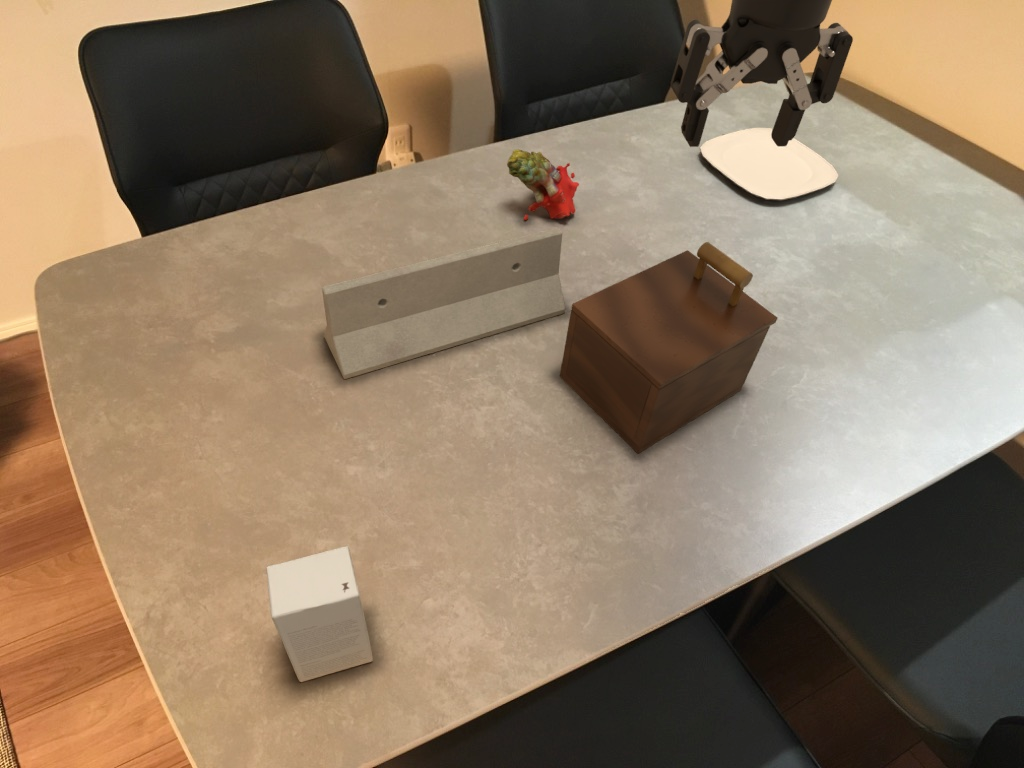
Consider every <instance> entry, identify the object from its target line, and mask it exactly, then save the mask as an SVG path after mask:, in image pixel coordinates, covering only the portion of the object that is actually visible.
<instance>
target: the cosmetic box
mask: <svg viewBox="0 0 1024 768" xmlns="http://www.w3.org/2000/svg"><path fill="white" fill-rule="evenodd" d="M354 567H355V566H354V563H353V558H352V554H351V550H350V548H349V546H348V545H345V546H341V547H337V548H334V549H333V548H332V549H329V550H326V551H322V552H318V553H314V554H310V555H306V556H302V557H300V558H295V559H291V560H287V561H284V562H283V561H282V562H279V563H276V564H272V565H271V564H270V565H268V566H266V567H265V568H266V581H267V590H268V601H269V609H270V616H271V620H272V622H273V624H274V626H275V628H276V630H277V633H278V635H279V637H280V640H281V643H282V644H283V647H284V650H285V652H286V654H287V656H288V659H289V661H290V663H291V665H292V668H293V670H294V672H295V675H296V677H297V679H298V681H299V682H301V683H303V682H307V681H310V680H313V679H317V678H320V677H324V676H327V675H330V674H334V673H337V672H341V671H344V670H347V669H351V668H354V667H357V666H360V665H364V664H368V663H372V662H374V657H373V652H372V646H371V641H370V636H369V632H368V626H367V622H366V616H365V613H364V608H363V604H362V599H361V595H360V590H359V585H358V580H357V575H356V571H355V568H354Z"/></svg>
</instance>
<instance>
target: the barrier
mask: <svg viewBox="0 0 1024 768" xmlns="http://www.w3.org/2000/svg"><path fill="white" fill-rule="evenodd" d="M562 243H563V232H562V230H561V229H560V228H559V227H552V228H549V229H544V230H541V231H536V232H532V233H529V234H525V235H521V236H517V237H513V238H510V239H506V240H505V239H504V240H501V241H498V242H497V241H496V242H494V243H491V244H485V245H482V246H478V247H474V248H470V249H466V250H461V251H457V252H453V253H450V254H445V255H442V256H437V257H434V258H430V259H426V260H422V261H419V262H414V263H411V264H407V265H403V266H399V267H394V268H391V269H386V270H383V271H379V272H376V273H371V274H367V275H363V276H360V277H356V278H352V279H347V280H344V281H340V282H335V283H332V284H328V285H324V286H322V287H321V292H322V301H323V306H324V307H323V308H324V315H325V322H326V326H325V329H324V332H323V336H324V339H325V342H326V343H327V345H328V348H329V350H330V352H331V354H332V356H333V358H334V361H335V363H336V365H337V367H338V369H339V371H340V374H341V376H342V379H344V380H348V379H350V378H354V377H357V376H361V375H364V374H367V373H370V372H374V371H377V370H381V369H384V368H388V367H390V366H394V365H396V364H401V363H404V362H407V361H410V360H414V359H416V358H417V359H418V358H420V357H423V356H427V355H430V354H433V353H437V352H440V351H443V350H446V349H450V348H454V347H456V346H460V345H464V344H467V343H471V342H473V341H476V340H480V339H483V338H486V337H490V336H493V335H497V334H499V333H504V332H506V331H511V330H513V329H516V328H520V327H523V326H526V325H530V324H534V323H536V322H539V321H542V320H546V319H550V318H552V317H556V316H559V315H563V314H565V311H566V305H565V300H564V295H563V289H562V284H561V277H560V274H559V273H560V265H561V264H560V262H561V253H562Z"/></svg>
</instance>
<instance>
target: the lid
mask: <svg viewBox="0 0 1024 768" xmlns="http://www.w3.org/2000/svg"><path fill="white" fill-rule="evenodd" d="M753 277H754V275H753V273H752V272H750V271H749V270H748V269H747V268H745V267H743V266H742V265H741V264H740V263H739V262H737V261H735V260H734V259H732V258H731V257H730V256H728V254H725V253H724V252H723V251H722V250H720V249H719V248H718V247H717V246H715V245H713V244H712V243H711V242H709V241H706V242H704V243H702V244H701V246H699V248H698V250H697V251H696V255H695V254H694V253H692V252H691V251H690V250H688V249H687V250H685V251H682V252H680V253H678V254H676V255H673V256H672V257H670V258H667V259H665V260H663V261H661V262H659V263H656V264H655V265H653V266H651V267H648V268H646V269H644V270H642V271H640V272H637V273H636V274H633V275H631V276H629V277H627V278H625V279H623V280H620V281H618V282H616V283H613V284H611V285H610V286H607V287H605V288H603V289H601V290H599V291H596V292H595V293H593V294H589V295H588V296H585V297H583V298H581V299H580V300H578V301H575V302H573V303H572V304H571V310H573V311H574V312H575V313H576V314H577V315H578V316H579V317H580V318H582V319H583V320H584V321H585V322H586V323H587V324H588V325H589V326H590V327H591V328H593V329H594V330H595V331H596V332H597V333H598V334H599V335H600V336H601V337H602V338H604V339H605V340H606V341H607V342H608V343H609V344H610V345H611V346H612V347H613V348H615V349H616V350H617V351H618V352H619V353H620V354H621V355H622V356H623V357H624V358H626V359H627V360H628V361H629V362H630V363H631V364H632V365H633V366H634V367H636V368H637V369H638V370H639V371H640V372H641V373H642V374H643V375H644V376H645V377H647V378H648V379H649V380H650V381H651V382H652V383H653V384H654V385H655V386H656V387H658V388H659V389H661V388H662V387H664V386H666V385H668V384H669V383H671V382H673V381H675V380H676V379H678V378H680V377H682V376H683V375H685V374H687V373H689V372H690V371H692V370H694V369H696V368H697V367H699V366H701V365H703V364H704V363H706V362H708V361H710V360H711V359H713V358H715V357H717V356H718V355H720V354H722V353H724V352H725V351H727V350H729V349H731V348H732V347H734V346H736V345H738V344H739V343H741V342H743V341H745V340H746V339H748V338H750V337H752V336H753V335H755V334H757V333H759V332H760V331H762V330H764V329H766V328H767V327H769V326H770V327H771V326H772V325H773V326H774V324H776V322H777V321H778V316H776V315H775V314H774V313H772V312H771V311H770V310H769V309H767V308H765V306H763V305H761V303H759V302H758V301H756V300H755V299H753V298H752V297H751V296H750V295H748V294H747V293H746V292H744V289H745V288H746V287H747V286H748V285H749V284H750V283H751V281H752V279H753Z"/></svg>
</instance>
